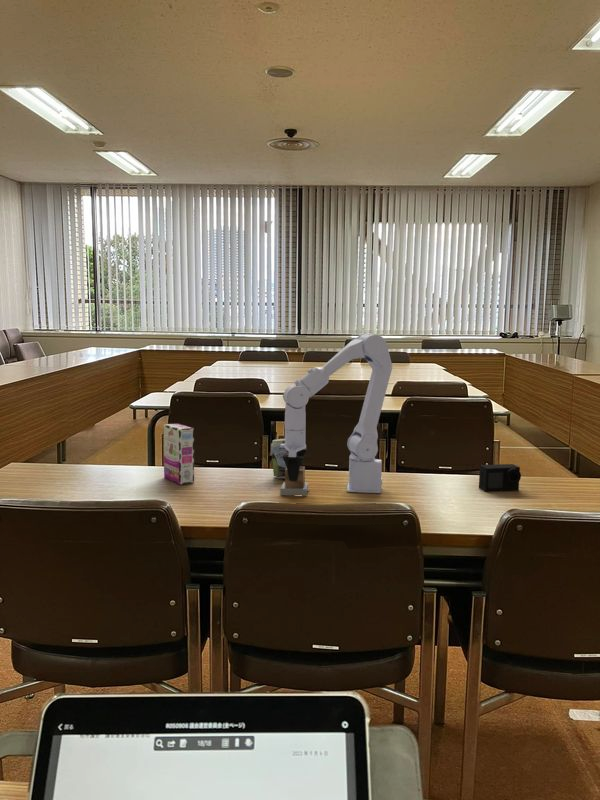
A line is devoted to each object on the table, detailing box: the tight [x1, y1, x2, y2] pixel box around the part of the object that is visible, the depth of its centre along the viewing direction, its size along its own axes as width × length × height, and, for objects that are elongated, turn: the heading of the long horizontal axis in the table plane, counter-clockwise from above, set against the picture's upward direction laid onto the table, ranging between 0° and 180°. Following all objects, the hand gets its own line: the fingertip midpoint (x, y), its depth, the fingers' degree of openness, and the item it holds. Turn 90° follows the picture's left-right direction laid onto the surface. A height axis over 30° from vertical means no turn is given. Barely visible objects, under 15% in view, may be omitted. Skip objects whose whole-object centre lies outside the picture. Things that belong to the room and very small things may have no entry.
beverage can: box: [270, 438, 288, 479], centre depth 196 cm, size 6×7×12 cm
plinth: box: [280, 481, 309, 497], centre depth 180 cm, size 7×7×2 cm
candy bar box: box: [163, 423, 195, 486], centre depth 191 cm, size 11×5×16 cm, turn 36°
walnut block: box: [284, 465, 306, 488], centre depth 180 cm, size 5×5×5 cm
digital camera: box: [478, 463, 522, 493], centre depth 185 cm, size 10×5×7 cm, turn 101°
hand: (294, 477), depth 180 cm, fingers open, 7 cm apart
